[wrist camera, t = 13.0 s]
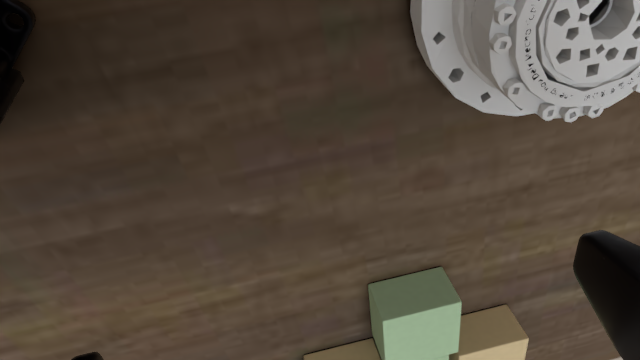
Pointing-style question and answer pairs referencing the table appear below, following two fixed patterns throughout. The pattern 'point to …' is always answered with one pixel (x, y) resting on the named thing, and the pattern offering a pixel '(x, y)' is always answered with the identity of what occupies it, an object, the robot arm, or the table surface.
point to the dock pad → (474, 340)
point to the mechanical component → (532, 53)
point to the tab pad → (415, 316)
